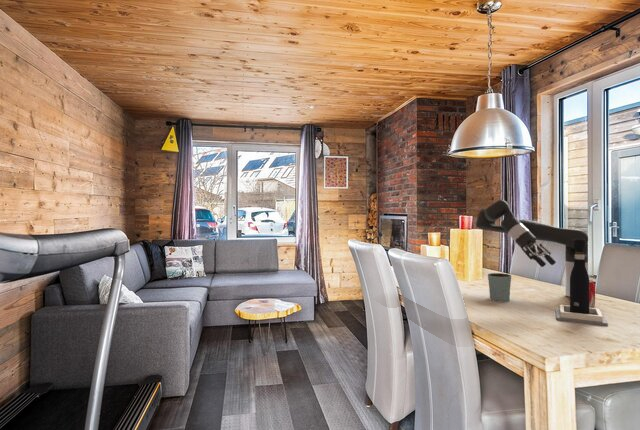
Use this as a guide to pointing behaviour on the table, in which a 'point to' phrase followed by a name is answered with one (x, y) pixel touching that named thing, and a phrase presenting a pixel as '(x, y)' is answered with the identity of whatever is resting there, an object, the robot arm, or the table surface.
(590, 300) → the soda can
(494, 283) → the grey green cup
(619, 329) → the table surface
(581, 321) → the dock
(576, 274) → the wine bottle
